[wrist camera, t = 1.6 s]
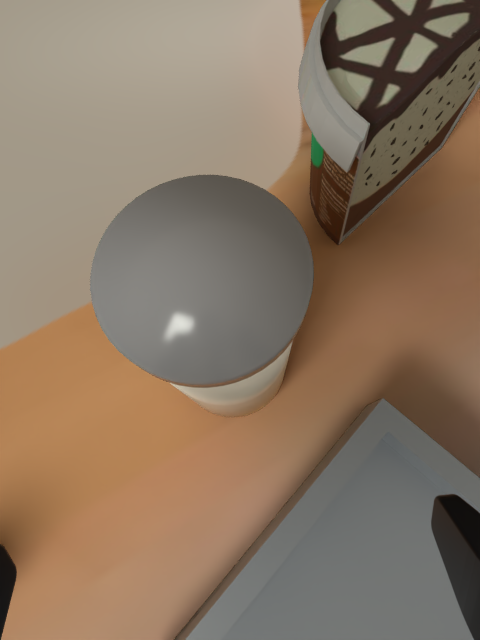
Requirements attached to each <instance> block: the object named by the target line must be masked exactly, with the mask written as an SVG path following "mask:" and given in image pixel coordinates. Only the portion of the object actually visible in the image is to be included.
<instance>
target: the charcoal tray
mask: <svg viewBox="0 0 480 640" xmlns="http://www.w3.org/2000/svg"><path fill="white" fill-rule="evenodd" d="M446 494H456V495H458V496H460V497H461V498H462V499H464V500H465V501H466V502H467V503H468V504H470V505H471V506H472V507H473V508H475V509H476V510H477V511H478V512H479V513H480V478H479V477H478V476H477V475H475V474H474V473H473V472H472V471H471V470H469V469H468V468H467V467H466V466H465V465H463V464H462V463H461V462H460V461H458V460H457V459H456V458H455V457H454V456H452V455H451V454H450V453H449V452H448V451H446V450H445V449H444V448H443V447H442V446H440V445H439V444H438V443H437V442H436V441H434V440H433V439H432V438H431V437H430V436H428V435H427V434H426V433H425V432H424V431H422V430H421V429H420V428H419V427H417V426H416V425H415V424H414V423H413V422H411V421H410V420H409V419H408V418H407V417H405V416H404V415H403V414H402V413H401V412H399V411H398V410H397V409H396V408H395V407H393V406H392V405H391V404H390V403H389V402H387V401H386V400H385V399H384V398H382V399H380V400H378V401H376V402H373V403H371V404H369V405H367V406H366V407H365V409H364V410H363V411H362V412H361V413H360V415H359V416H358V417H357V418H356V419H355V421H354V422H353V423H352V424H351V426H350V427H349V428H348V429H347V430H346V432H345V433H344V434H343V435H342V436H341V438H340V439H339V440H338V441H337V442H336V444H335V445H334V446H333V447H332V449H331V450H330V451H329V452H328V453H327V455H326V456H325V457H324V458H323V459H322V461H321V462H320V463H319V464H318V466H317V467H316V468H315V469H314V470H313V472H312V473H311V474H310V475H309V476H308V478H307V479H306V480H305V481H304V483H303V484H302V485H301V486H300V487H299V489H298V490H297V491H296V492H295V493H294V495H293V496H292V497H291V498H290V499H289V501H288V502H287V503H286V504H285V506H284V507H283V508H282V509H281V510H280V512H279V513H278V514H277V515H276V516H275V518H274V519H273V520H272V521H271V523H270V524H269V525H268V526H267V527H266V529H265V530H264V531H263V532H262V533H261V535H260V536H259V537H258V538H257V539H256V541H255V542H254V543H253V544H252V546H251V547H250V548H249V549H248V550H247V552H246V553H245V554H244V555H243V556H242V558H241V559H240V560H239V561H238V563H237V564H236V565H235V566H234V567H233V569H232V570H231V571H230V572H229V573H228V575H227V576H226V577H225V578H224V580H223V581H222V582H221V583H220V584H219V586H218V587H217V588H216V589H215V590H214V592H213V593H212V594H211V595H210V596H209V598H208V599H207V600H206V601H205V603H204V604H203V605H202V606H201V607H200V609H199V610H198V611H197V612H196V613H195V615H194V616H193V617H192V618H191V620H190V621H189V622H188V623H187V624H186V626H185V627H184V628H183V629H182V630H181V632H180V633H179V634H178V635H177V636H176V638H175V639H174V640H474V639H473V637H472V635H471V633H470V630H469V628H468V626H467V624H466V622H465V619H464V617H463V615H462V612H461V610H460V607H459V604H458V602H457V599H456V596H455V593H454V591H453V588H452V585H451V582H450V580H449V577H448V574H447V571H446V569H445V566H444V563H443V560H442V557H441V555H440V552H439V549H438V546H437V544H436V541H435V538H434V535H433V532H432V528H431V518H432V511H433V504H434V499H435V497H436V496H438V495H446Z"/></svg>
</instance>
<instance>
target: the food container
mask: <svg viewBox="0 0 480 640" xmlns="http://www.w3.org/2000/svg"><path fill="white" fill-rule="evenodd" d="M479 87H480V0H326V2H325V3H324V4H323V6H322V7H321V9H320V11H319V13H318V15H317V17H316V19H315V21H314V24H313V27H312V30H311V33H310V36H309V38H308V41H307V44H306V47H305V50H304V54H303V57H302V61H301V65H300V69H299V83H298V89H299V96H300V103H301V107H302V110H303V113H304V116H305V119H306V122H307V124H308V126H309V128H310V129H311V131H312V144H311V172H310V199H311V205H312V208H313V211H314V214H315V216H316V218H317V220H318V222H319V224H320V225H321V227H322V228H323V229H324V231H325V232H326V233H327V235H328V236H329V237H330V238H331V239H332V240H333V241H334V242H335V243H336V244H337V245H339V244H340V243H341V242H342V241H344V240H345V239H346V238H347V237H348V236H349V235H350V234H351V233H352V232H353V231H354V230H355V229H356V228H357V227H358V226H359V225H360V224H362V223H363V222H364V221H365V220H366V219H367V218H368V217H369V216H370V215H371V214H372V213H373V212H374V211H375V210H376V209H377V208H379V207H380V206H381V205H382V204H383V203H384V202H385V201H386V200H387V199H388V198H389V197H390V196H391V195H392V194H393V193H394V192H396V191H397V190H398V189H399V188H400V187H401V186H402V185H403V184H404V183H405V182H406V181H407V180H408V179H409V178H410V177H411V176H413V175H414V174H415V173H416V172H417V171H418V170H419V169H420V168H421V167H422V166H423V165H424V164H425V163H426V162H427V161H428V160H430V159H431V158H432V157H433V156H434V155H435V154H436V153H437V152H438V151H439V150H440V149H441V148H442V147H443V145H444V144H445V142H446V140H447V139H448V137H449V136H450V134H451V132H452V131H453V129H454V128H455V126H456V124H457V123H458V121H459V120H460V118H461V116H462V115H463V113H464V111H465V110H466V108H467V107H468V105H469V103H470V102H471V100H472V99H473V97H474V95H475V94H476V92H477V91H478V89H479Z"/></svg>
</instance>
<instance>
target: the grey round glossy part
mask: <svg viewBox="0 0 480 640" xmlns="http://www.w3.org/2000/svg"><path fill="white" fill-rule="evenodd" d="M90 279H91V280H90V291H91V298H92V304H93V307H94V311H95V314H96V317H97V319H98V322H99V324H100V326H101V328H102V330H103V331H104V333H105V334H106V336H107V338H108V339H109V341H110V342H111V343H112V344H113V345H114V346H115V347H116V349H117V350H118V351H119V352H120V353H122V354H123V355H124V356H125V357H126V358H128V359H129V360H130V361H131V362H133V363H134V364H136V365H137V366H138V367H140V368H141V369H143V370H144V371H146V372H148V373H149V374H151V375H152V376H155V377H157V378H159V379H161V380H163V381H166V382H169V383H171V384H172V385H173V386H175V387H176V388H177V389H178V390H180V391H181V392H182V393H184V394H185V395H186V396H188V397H189V398H190V399H192V400H193V401H194V402H196V403H197V404H198V405H200V406H201V407H202V408H204V409H205V410H207V411H209V412H211V413H213V414H216V415H219V416H224V417H242V416H246V415H249V414H252V413H254V412H256V411H258V410H260V409H262V408H263V407H264V406H266V405H267V404H268V403H269V402H270V401H271V400H272V399H273V398H274V396H275V395H276V394H277V392H278V390H279V388H280V386H281V384H282V381H283V377H284V374H285V370H286V366H287V362H288V358H289V354H290V350H291V346H292V343H293V340H294V338H295V336H296V335H297V333H298V331H299V330H300V327H301V325H302V322H303V320H304V318H305V315H306V311H307V308H308V305H309V301H310V297H311V293H312V288H313V279H314V267H313V258H312V252H311V248H310V245H309V242H308V239H307V236H306V234H305V232H304V230H303V228H302V226H301V225H300V223H299V222H298V220H297V219H296V217H295V216H294V214H293V213H292V212H291V211H290V210H289V209H288V208H287V207H286V206H285V204H283V203H282V202H281V201H280V200H279V199H277V198H276V197H275V196H274V195H272V194H271V193H269V192H267V191H266V190H264V189H263V188H260V187H258V186H256V185H254V184H252V183H249V182H247V181H244V180H241V179H237V178H232V177H228V176H219V175H196V176H188V177H183V178H179V179H175V180H172V181H168V182H166V183H163V184H160V185H158V186H156V187H154V188H152V189H150V190H148V191H146V192H145V193H143V194H142V195H140V196H138V197H137V198H135V199H134V200H133V201H132V202H131V203H129V204H128V205H127V206H126V207H125V208H124V209H123V210H122V211H121V212H120V213H119V214H118V215H117V216H116V217H115V218H114V220H113V221H112V222H111V224H110V225H109V226H108V228H107V229H106V231H105V233H104V235H103V236H102V238H101V240H100V242H99V245H98V247H97V249H96V252H95V256H94V259H93V263H92V270H91V277H90Z"/></svg>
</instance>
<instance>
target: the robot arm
mask: <svg viewBox="0 0 480 640" xmlns="http://www.w3.org/2000/svg"><path fill="white" fill-rule="evenodd" d="M431 528H432V532H433V535H434V538H435V541H436V544H437V546H438V549H439V552H440V555H441V557H442V560H443V563H444V566H445V569H446V571H447V574H448V577H449V580H450V582H451V585H452V588H453V591H454V593H455V596H456V599H457V602H458V604H459V607H460V610H461V612H462V615H463V617H464V619H465V622H466V624H467V626H468V628H469V630H470V633H471V635H472V637H473V639H474V640H480V513H479V512H478V511H477V510H476V509H475V508H473V507H472V506H471V505H470V504H468V503H467V502H466V501H465V500H464V499H462V498H461V497H460V496H458V495H456V494H446V495H438V496H436V497H435V499H434V504H433V511H432V518H431ZM16 575H17V571H16V566H15V564H14V562H13V561H12V559H11V557H10V555H9V554H8V552H7V550H6V549H5V547H4V546H3V545H2V544H0V640H1V637H2V633H3V629H4V625H5V621H6V617H7V613H8V609H9V605H10V601H11V597H12V593H13V589H14V585H15V581H16Z"/></svg>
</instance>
